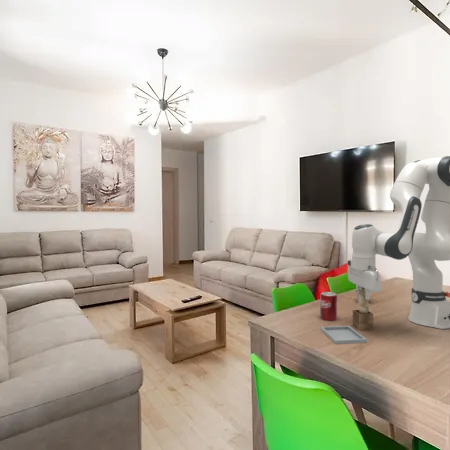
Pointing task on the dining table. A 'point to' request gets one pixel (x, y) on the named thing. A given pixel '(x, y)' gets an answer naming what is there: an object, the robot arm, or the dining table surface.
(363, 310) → the dowel
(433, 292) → the robot arm
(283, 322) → the dining table surface
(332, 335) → the tray
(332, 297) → the soda can
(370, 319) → the brown wooden box
